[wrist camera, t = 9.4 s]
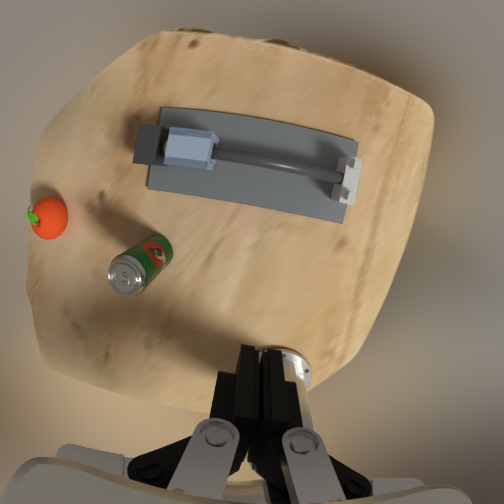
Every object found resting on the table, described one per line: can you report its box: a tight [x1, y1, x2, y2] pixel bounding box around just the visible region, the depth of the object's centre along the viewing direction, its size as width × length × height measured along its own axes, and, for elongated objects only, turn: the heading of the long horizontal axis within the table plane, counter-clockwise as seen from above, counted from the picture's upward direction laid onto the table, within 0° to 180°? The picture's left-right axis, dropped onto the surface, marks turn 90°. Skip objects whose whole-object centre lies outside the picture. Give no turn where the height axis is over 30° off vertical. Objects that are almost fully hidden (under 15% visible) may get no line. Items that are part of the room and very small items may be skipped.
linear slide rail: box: [133, 108, 363, 224], centre depth 33 cm, size 28×12×6 cm, turn 80°
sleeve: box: [164, 127, 220, 171], centre depth 32 cm, size 5×4×6 cm
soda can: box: [108, 235, 173, 296], centre depth 34 cm, size 5×5×12 cm
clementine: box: [28, 197, 68, 240], centre depth 35 cm, size 8×7×7 cm
